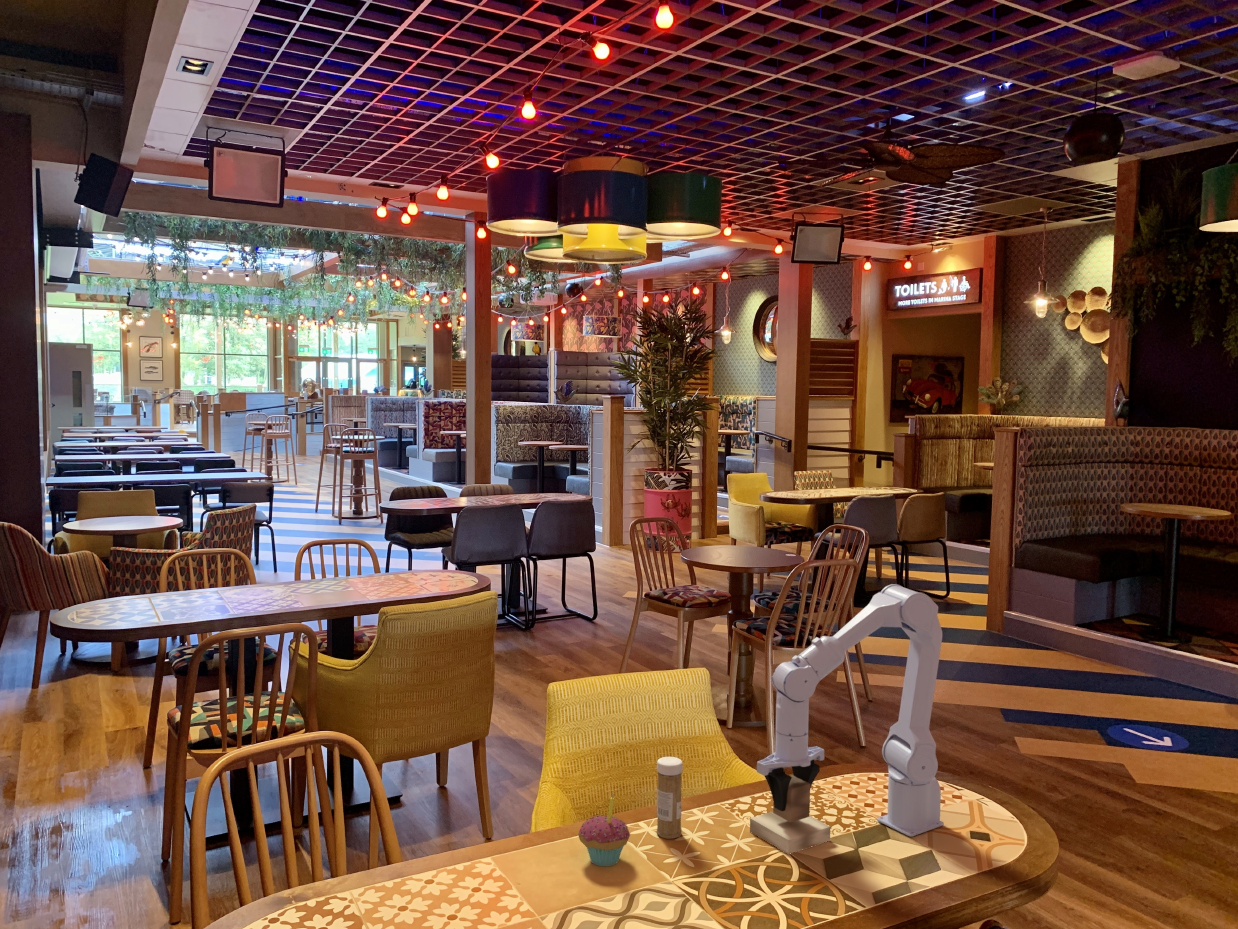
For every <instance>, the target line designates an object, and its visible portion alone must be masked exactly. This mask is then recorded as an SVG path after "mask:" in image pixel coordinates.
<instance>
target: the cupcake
mask: <svg viewBox="0 0 1238 929" xmlns="http://www.w3.org/2000/svg"><path fill="white" fill-rule="evenodd" d="M614 794H615V793H612V796H611V797H610V799H609V804H608V805H609V806H608V811H607V813H608V814H607V815H602V814H601V815H594V816H592V817H590V818H588V819H586V821H585V822H584V823H583V822H582V824H581V826H580V828H579V831H578V839H579V841H580V842H581V843H582V844H583V846H584V847H586V850H587V853H588V856H589V858H590V859H589V860H590V861H591V863H592V864H594V865H595V866H597V867H598V866H599V867H611V866H614V865H616V864H617V863H618V862H619V861H620V856H621V853H622V851H623V849H624V847H625V846H626V845H627V843H628V840H629V839H630V836H631V834H630V831H629V826H628V825H627V824H626V822H624V821H623V820H622V819H620V818H618V817H616V816H613V809H614V802H615V798H614V796H615V795H614Z"/></svg>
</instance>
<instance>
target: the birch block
mask: <svg viewBox="0 0 1238 929" xmlns="http://www.w3.org/2000/svg"><path fill="white" fill-rule="evenodd" d="M751 832H752V833H753V834H752V833H751ZM749 833H751V834H752V835H754V834H755V835H754V836H756V835H757V836H759V837H760V838H759V837H758V838H759V839H761V838H762V839H764V840H765V841H764V840H763V841H764V842H766V841H768V842H769V843H771V844H772V845H771V844H770V845H771V846H773V845H774V846H776V847H777V848H776V847H775V848H776V849H778V848H779V849H780V850H779V849H778V850H779V851H781V850H782V851H781V852H783V851H784V852H785V853H784V852H783V853H784V854H786V853H787V854H786V855H788V854H789V855H791V854H790V853H792V854H794V853H793V852H795V853H798V852H801V851H803V850H802V849H804V850H806V848H807V849H809V847H810V848H812V847H811V846H813V847H815V845H816V846H819V845H821V843H822V844H825V843H827V841H828V842H831V826H830V825H828V824H826V823H824V822H823V821H821V820H819V819H817V818H815V817H813V816H811V815H809V817H807V818H804V819H801V820H797V821H794V822H789V821H787V820H785V819H783V818H782V817H780V816H778V815H776V814H774V813H773V810H772V811H770V812H766V813H763V814H759V815H756V816H753V817H750V818H749ZM757 836H756V837H757ZM762 839H761V840H762ZM824 842H825V843H824ZM769 843H768V844H769ZM818 844H819V845H818ZM774 846H773V847H774ZM800 850H801V851H800ZM797 851H798V852H797Z"/></svg>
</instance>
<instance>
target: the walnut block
mask: <svg viewBox="0 0 1238 929" xmlns="http://www.w3.org/2000/svg"><path fill="white" fill-rule="evenodd" d="M790 776H791V777H792V778H791V781H790V783H789V786H788V791H787V801H786V808H785V811H780V810H778V809H776V808H775V807H774V802H773V801H772V803H773V804H772V807H773V809H772V811H773V813H774V814H776V815H778V816H780V817H782V818H783V819H785V820H787V821H789V822H794V821H797V820H801V819H804V818H807V817H809V816H810V812H811V810H810V808H811V806H810V805H811V788H810V783H808V782H806V781H804V780H802V779H800V778H798V777H795V776H793V774H791V775H790Z"/></svg>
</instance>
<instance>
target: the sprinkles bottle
mask: <svg viewBox="0 0 1238 929" xmlns="http://www.w3.org/2000/svg"><path fill="white" fill-rule="evenodd" d="M683 767H684V765H683V761H682V759H680V758H679V757H676V756H675V757H674V756H663V757H660V758H659V759H657V762H656V771H657V790H656V791H657V793H656V816H657V824H656V825H657V828H656V834H657V835H658V836H659V837H660V838H663V839H668V840H671V839H676V838H679V837H681V835H682V833H683V832H682V774H683V770H684V769H683Z"/></svg>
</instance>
